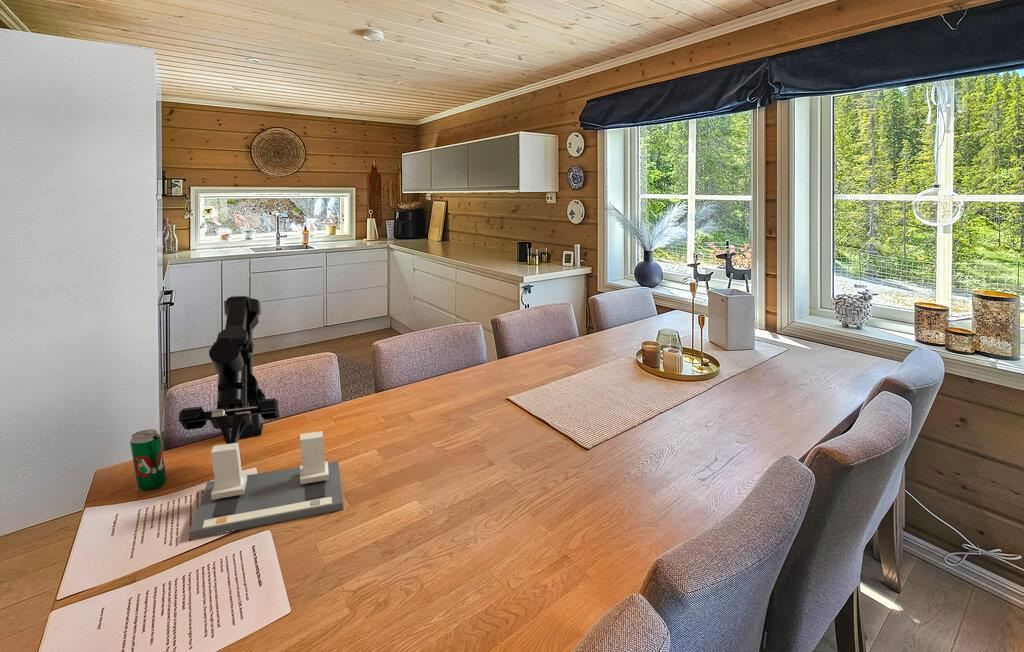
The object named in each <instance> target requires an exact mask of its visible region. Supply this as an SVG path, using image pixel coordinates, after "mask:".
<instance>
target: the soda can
mask: <svg viewBox="0 0 1024 652" xmlns="http://www.w3.org/2000/svg"><path fill="white" fill-rule="evenodd" d="M130 436H131V439H130V440H129V443H130V444H129V445H130V451H131V456H132V461H133V468H134V473H135V474H134V475H135V479H136V484H137V489H138V490H140V491H143V492H151V491H155V490H158V489H160V488H162V487H164V486H165V484H166V483H167V482H168V477H167V472H166V465H165V459H164V453H163V447H162V438H161V434H159V433H158V430H156V429H143V430H140V431H136V432H135V433H133V434H132V435H130Z"/></svg>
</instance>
